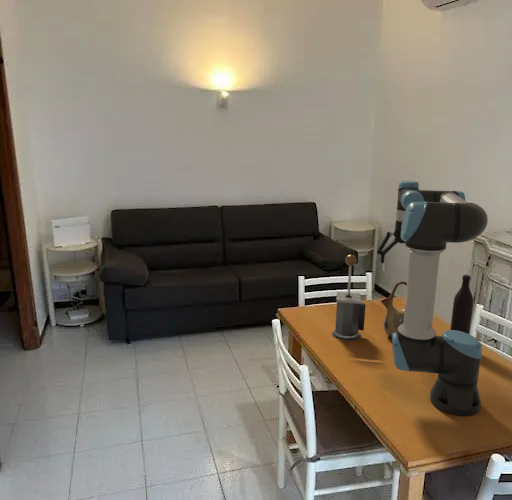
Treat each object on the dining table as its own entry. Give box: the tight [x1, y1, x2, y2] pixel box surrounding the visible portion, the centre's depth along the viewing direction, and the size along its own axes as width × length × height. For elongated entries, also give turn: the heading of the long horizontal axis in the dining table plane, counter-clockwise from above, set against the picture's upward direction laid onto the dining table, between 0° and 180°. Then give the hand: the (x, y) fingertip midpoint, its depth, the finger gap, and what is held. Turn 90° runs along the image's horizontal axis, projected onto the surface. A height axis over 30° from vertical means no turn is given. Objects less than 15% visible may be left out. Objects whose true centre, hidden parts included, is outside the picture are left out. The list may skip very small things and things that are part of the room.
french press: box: [333, 291, 366, 340], centre depth 203 cm, size 10×12×17 cm
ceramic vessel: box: [380, 281, 407, 339], centre depth 201 cm, size 16×9×25 cm, turn 90°
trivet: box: [331, 330, 362, 342], centre depth 206 cm, size 12×12×1 cm
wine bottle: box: [449, 274, 474, 334], centre depth 193 cm, size 7×7×30 cm
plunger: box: [344, 254, 357, 298], centre depth 200 cm, size 7×7×24 cm
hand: (401, 271), depth 200 cm, fingers open, 13 cm apart
